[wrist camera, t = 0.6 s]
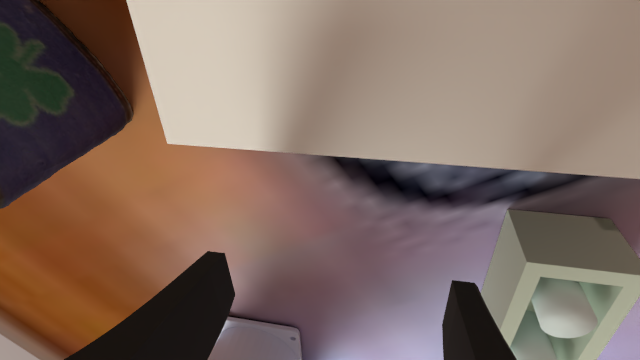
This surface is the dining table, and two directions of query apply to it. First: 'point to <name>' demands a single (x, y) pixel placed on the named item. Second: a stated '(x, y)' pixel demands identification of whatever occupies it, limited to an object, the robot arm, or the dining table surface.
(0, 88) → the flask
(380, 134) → the counter
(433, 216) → the dining table surface
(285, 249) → the dining table surface
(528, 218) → the tray
